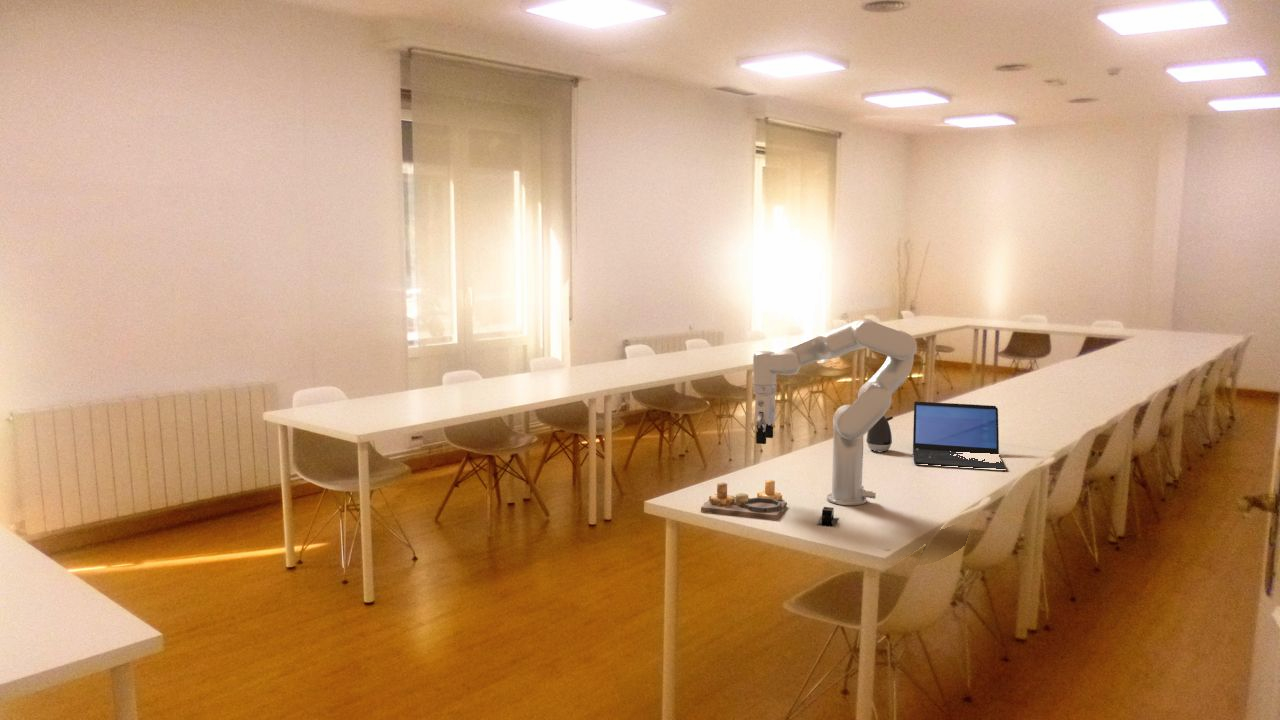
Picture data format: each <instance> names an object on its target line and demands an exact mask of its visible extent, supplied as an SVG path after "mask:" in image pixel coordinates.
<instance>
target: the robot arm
mask: <svg viewBox="0 0 1280 720" xmlns="http://www.w3.org/2000/svg"><path fill="white" fill-rule="evenodd" d="M860 348H866V349H868V350H871V351H874V352H876V353H878V354H881V355H884V356H886V358H885V360H884V362H883V364H882V365H881V367H879V368H878V369H877V371H876V372H875V373H874V374H873V375H872V376H871V377H870V378H869V379H868V380H866V382H865V383H863V385H861V387H860V388H859V389H858V392H857V398H856V399H855V400H854V402H853V403H852V404H844V405H841V406H839V407H838V408H837V409H836V411H835V412H834V414H833V418H832V431H833V433H832V435H833V438H832V439H833V441H832V446H833V447H832V476H831V477H832V479H831V481H832V482H831V486H832V487H831V492H830V493H828V494H827V495H826V499H827V501H828V502H830V503H831V504H837V505H840V506H841V505H843V506H861V505H864V504H865V503H867V498H869V499H876V497H877V496H876V494H877V493H876V492H873V490H866V489H865V488H864V485H863V464H864V463H863V462H864V460H863V459H864V435H867V433H868V431H869V430H870V429H871V428H872V427H873V426H874V425H875V424H876V423H877V422H878V421H879V420H880V419H881V418H882V417H883V416H885V414H887V412H888V411H889V409H890V408H891V405H892V401H893V398H892V395H894V393H896V391H897V390H899V388H900V387H901V386H902V385H903V384H904V383H905V381H906V380H907V378H909V376H910V374H911V372H912V369H913V365H914V358H915V354H916V353H917V350H918V343H917V341H916V339H915V338H914V336H913V335H911V334H909V333H908V332H906V331H903V330H897V329H894V328H891V327H888V326H886V325H884V324H881V323H878V322H877V321H874V320H872V319H871V318H870V319H869V318H861V319H858V320H854V321H852V322H850V323H848V324H845V325H842V326H840V327H837V328H835V329H833V330H830V331H828V332H825V333H822V334H820V335H817V336H815V337H812V338H810V339H807V340H805V341H802V342H799V343H797V344H794V345H792V346H789V347H787V348H784V349H782V350H781V351H779V352H778V353H775V352H774V351H769V350H767V351H766V350H765V351H764V350H762V351H756V352H754V353H753V355H752V356H753V360H752V361H753V363H752V365H753V366H752V367H753V368H752V370H753V371H752V372H753V373H752V376H753V377H752V378H753V379H752V383H753V384H752V385H753V386H752V388H753V389H752V390H753V391H752V393H753V395H755V404H754V406H755V407H754V408H755V409H754V411H755V412H754V417H755V418H754V420H755V424H756V429H755V443H756V444H758V445H766V444H767V439H773V438H774V423H775V422H776V420H777V411H776V410H777V409H776V405H777V404H776V395H777V375H784V376H792V375H796V374H797V373H798V372H799V370H800V369H801V367H803V366H806V365H809V364H811V363H814V362H817V361H822V360H832V359H835V358H838V357H840V356H841V357H842V356H843V355H846V354H848V353H850V352H853V351H855V350H859V349H860Z"/></svg>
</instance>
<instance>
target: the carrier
mask: <svg viewBox="0 0 1280 720" xmlns="http://www.w3.org/2000/svg"><path fill="white" fill-rule="evenodd" d="M708 498H709V499H708V500H707V501H706V502H705V503H704V504H702V505H701V506H700V512H701V511H703V512H702V513H708V512H712V513H711V514H717V513H719V514H718V515H729V516H737V517H745V518H755V519H762V520H772V521H778V519H779V518H780V516H781V515H782V514H783V513H784V511H785V510H786V508H787V505H788V504H787V501H781V500H780V501H777V500H775V499H771V498H761V497H760V498H758V497H757V496H756V497H752V498H751V497H749V494H747V493H744V492H743V493H736V494H735V496H734V495H730V494H728V483H726V482H718V483H716V494H712V495H709V497H708Z"/></svg>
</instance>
